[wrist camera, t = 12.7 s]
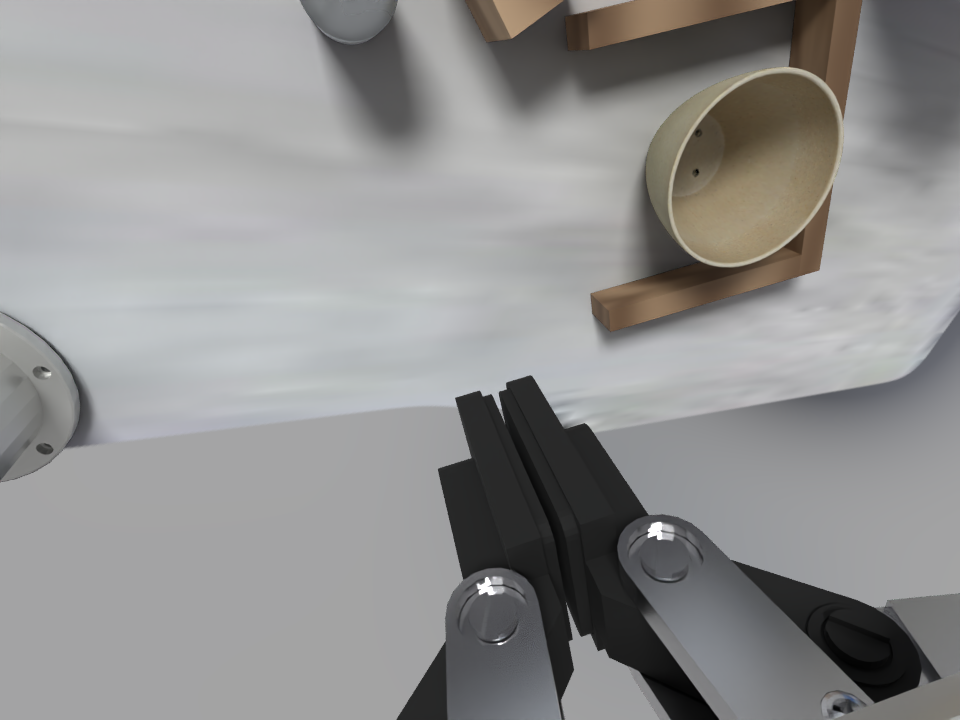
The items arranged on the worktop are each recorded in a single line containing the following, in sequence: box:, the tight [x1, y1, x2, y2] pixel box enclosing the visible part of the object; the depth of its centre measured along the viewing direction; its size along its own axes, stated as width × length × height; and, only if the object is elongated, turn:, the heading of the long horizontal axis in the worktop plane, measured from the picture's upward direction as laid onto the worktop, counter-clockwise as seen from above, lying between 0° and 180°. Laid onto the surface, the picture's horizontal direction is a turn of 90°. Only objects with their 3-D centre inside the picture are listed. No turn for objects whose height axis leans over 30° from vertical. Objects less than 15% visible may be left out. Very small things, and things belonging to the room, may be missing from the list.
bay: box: [565, 0, 862, 332], centre depth 32 cm, size 16×18×3 cm
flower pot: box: [646, 67, 844, 267], centre depth 30 cm, size 10×10×7 cm
